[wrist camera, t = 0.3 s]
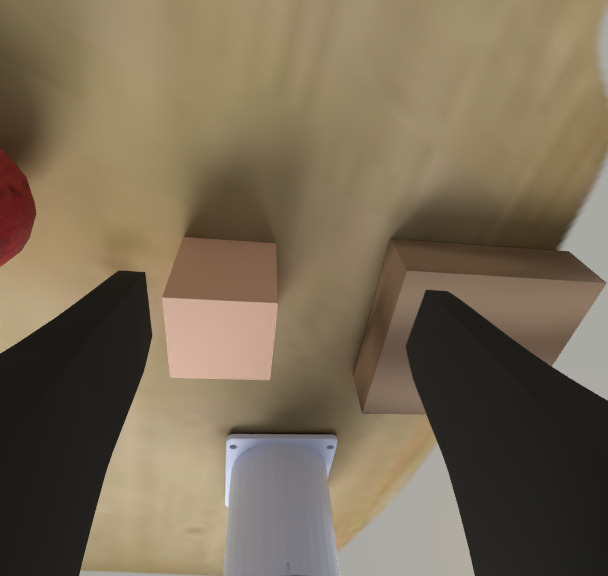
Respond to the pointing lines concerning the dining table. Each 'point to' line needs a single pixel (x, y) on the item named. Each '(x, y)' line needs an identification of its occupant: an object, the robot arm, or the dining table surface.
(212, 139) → the dining table surface
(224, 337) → the terracotta cube
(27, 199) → the onion
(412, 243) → the walnut base
